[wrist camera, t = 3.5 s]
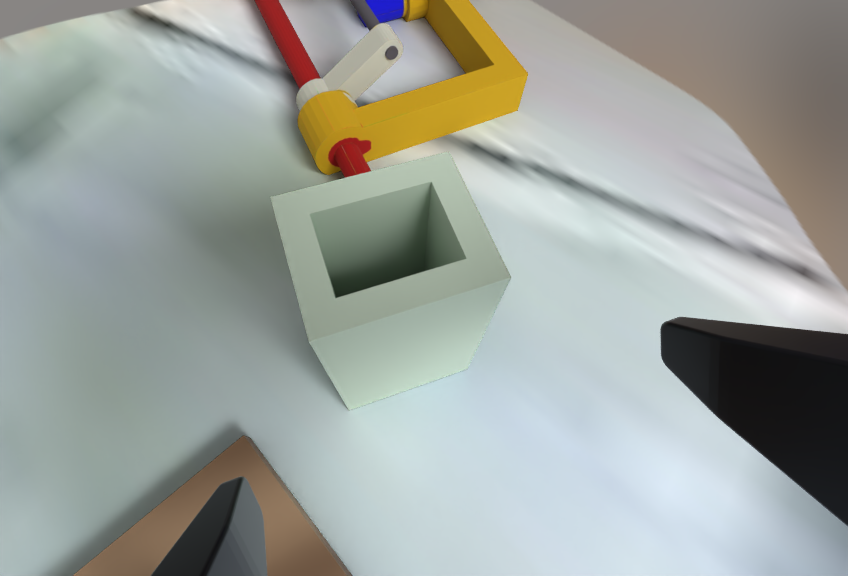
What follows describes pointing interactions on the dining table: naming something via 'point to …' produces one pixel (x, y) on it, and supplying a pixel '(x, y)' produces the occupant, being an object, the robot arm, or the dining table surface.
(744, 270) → the dining table surface
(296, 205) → the sleeve
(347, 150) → the mechanical clamp
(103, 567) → the peg stand
